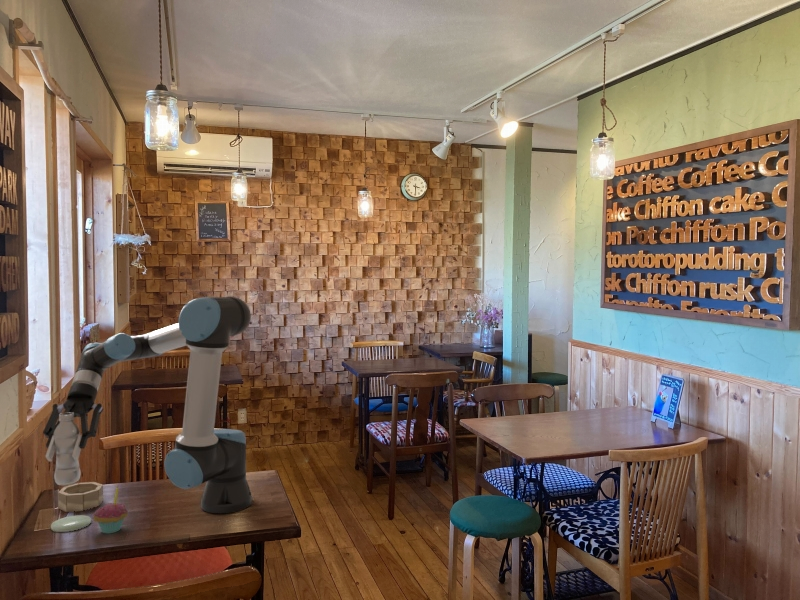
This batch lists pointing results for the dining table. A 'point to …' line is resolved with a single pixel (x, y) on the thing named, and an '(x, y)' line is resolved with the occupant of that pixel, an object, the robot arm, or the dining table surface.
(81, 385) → the robot arm
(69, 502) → the birch collar
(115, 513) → the cupcake
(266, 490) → the dining table surface
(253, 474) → the dining table surface
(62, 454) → the plastic bottle
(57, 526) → the sage coaster
